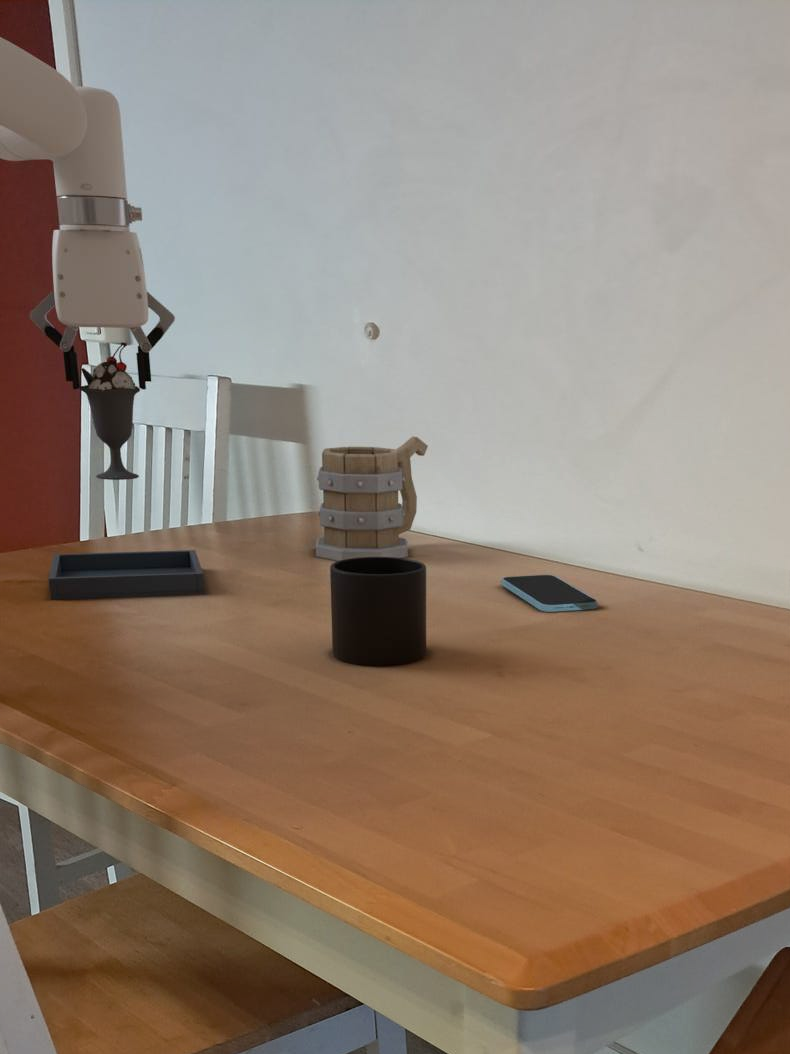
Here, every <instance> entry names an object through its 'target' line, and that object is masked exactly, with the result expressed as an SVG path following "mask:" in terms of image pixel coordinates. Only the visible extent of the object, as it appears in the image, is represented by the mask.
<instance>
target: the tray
mask: <svg viewBox="0 0 790 1054" xmlns="http://www.w3.org/2000/svg"><path fill="white" fill-rule="evenodd" d="M51 560H52V561H51V566H50V571H49V575H48V587H49V594H50V601H63V600H64V601H65V600H89V599H115V598H140V597H143V598H144V597H145V598H146V597H169V596H171V597H172V596H193V595H194V596H196V595H197V596H198V595H199V596H200V595H205V594H206V593H205V579H204V572H203V569H202V566H201V563H200V560H199V557H198V554H197V551H196V550H195V549H187V550H186V549H182V550H155V551H154V550H150V551H148V550H147V551H115V552H113V551H112V552H83V553H81V552H80V553H79V552H77V553H53V555H52V559H51Z"/></svg>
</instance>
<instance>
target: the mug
mask: <svg viewBox="0 0 790 1054" xmlns="http://www.w3.org/2000/svg"><path fill="white" fill-rule="evenodd" d="M329 576H330V577H329V579H330V582H329V583H330V611H331V612H330V614H331V645H332V646H331V647H332V654H333V657H334V658H335V659H337V660H338V661H340V662H343V663H346V664H350V665H355V666H361V667H362V666H363V667H395V666H403V665H408V664H412V663H415V662H418V661H421V660H423V659H424V658H425V656H426V654H427V566H426V564H425V563H423V562H421V561H418V560H415V559H411V558H395V557H360V558H350V559H344V560H340V561H334V562H332V563H331V564H330V566H329Z"/></svg>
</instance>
